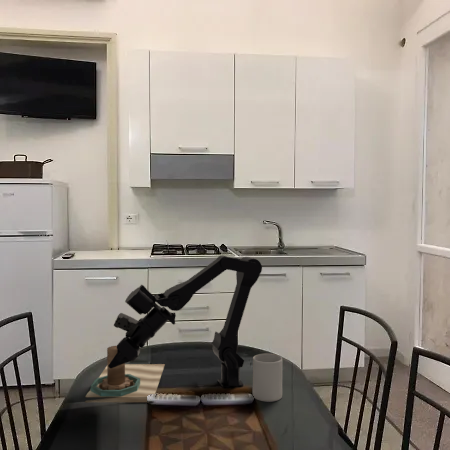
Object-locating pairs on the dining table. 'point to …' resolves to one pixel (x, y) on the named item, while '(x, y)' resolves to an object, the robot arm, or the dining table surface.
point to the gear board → (145, 381)
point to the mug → (267, 377)
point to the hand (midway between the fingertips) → (113, 361)
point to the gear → (115, 374)
